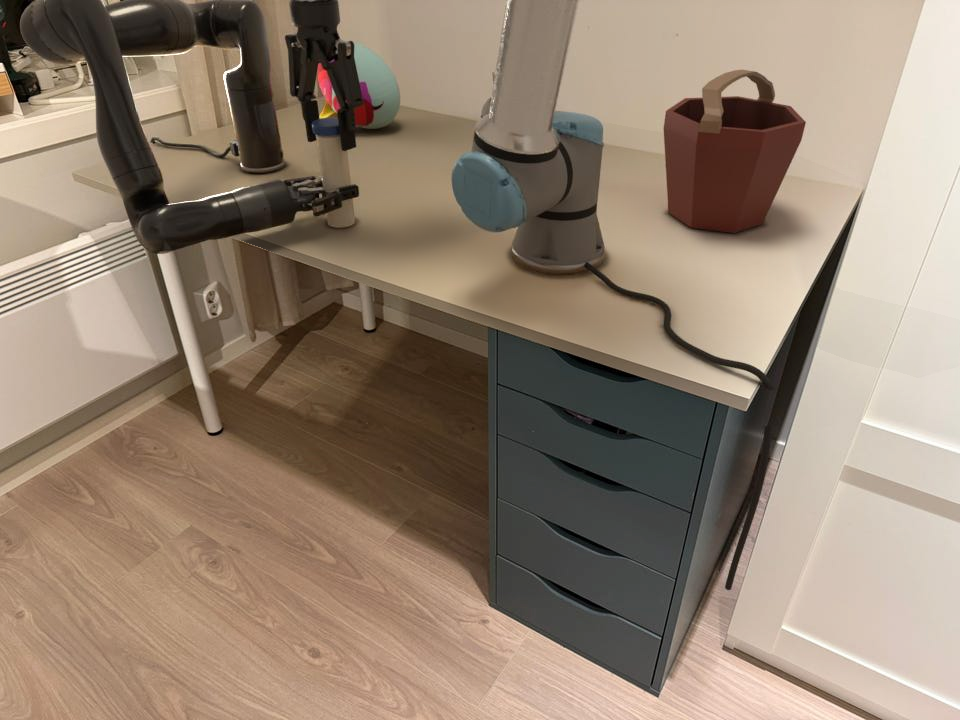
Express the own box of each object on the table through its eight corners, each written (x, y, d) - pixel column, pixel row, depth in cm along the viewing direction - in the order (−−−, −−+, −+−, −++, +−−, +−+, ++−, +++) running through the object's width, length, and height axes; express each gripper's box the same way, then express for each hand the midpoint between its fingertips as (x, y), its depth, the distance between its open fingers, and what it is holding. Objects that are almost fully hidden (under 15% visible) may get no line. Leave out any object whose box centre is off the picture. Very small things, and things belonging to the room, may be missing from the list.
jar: (360, 221, 130) (350, 125, 120) (338, 230, 127) (325, 131, 117) (344, 214, 133) (332, 119, 123) (322, 222, 130) (308, 125, 120)
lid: (323, 125, 124) (322, 115, 123) (353, 128, 122) (352, 118, 121) (306, 134, 119) (304, 125, 118) (336, 137, 118) (335, 128, 117)
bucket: (710, 250, 119) (740, 96, 105) (622, 208, 134) (638, 69, 120) (804, 218, 129) (843, 75, 115) (713, 183, 145) (736, 53, 131)
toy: (277, 110, 181) (275, 51, 163) (352, 72, 191) (358, 13, 173) (336, 175, 178) (341, 122, 160) (410, 134, 188) (421, 79, 170)
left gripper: (273, 198, 113) (367, 176, 121) (241, 174, 122) (330, 155, 131) (281, 241, 117) (371, 217, 125) (249, 214, 127) (335, 193, 135)
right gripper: (378, -1, 107) (390, 149, 119) (288, -10, 117) (307, 129, 130) (342, 5, 102) (358, 161, 114) (251, -5, 112) (275, 139, 125)
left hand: (350, 185), depth 128 cm, fingers closed on jar, 5 cm apart
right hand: (331, 144), depth 122 cm, fingers open, 8 cm apart
